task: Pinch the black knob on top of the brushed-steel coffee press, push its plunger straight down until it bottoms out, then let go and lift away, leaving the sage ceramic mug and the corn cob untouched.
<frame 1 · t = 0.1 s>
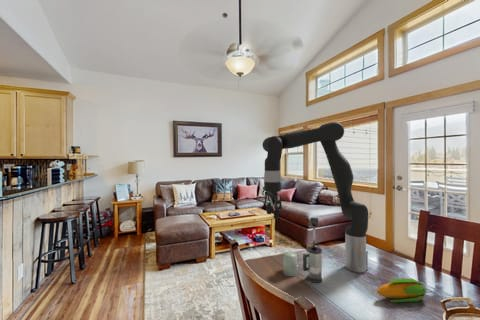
hand: (272, 216, 100), 29 cm above the table, fingers open, 8 cm apart
corn: (401, 299, 87), on the table
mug: (290, 273, 107), on the table
plunger: (314, 233, 101), point 21 cm above the table, slide at 0.0 cm
press: (314, 279, 101), on the table
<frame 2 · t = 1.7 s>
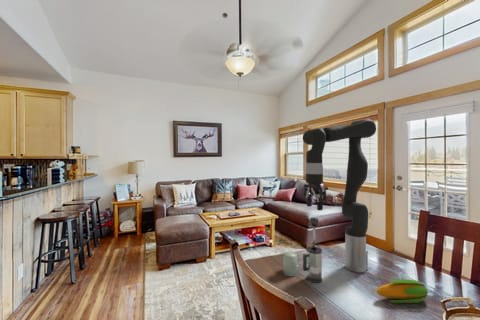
hand: (314, 208, 101), 33 cm above the table, fingers open, 8 cm apart
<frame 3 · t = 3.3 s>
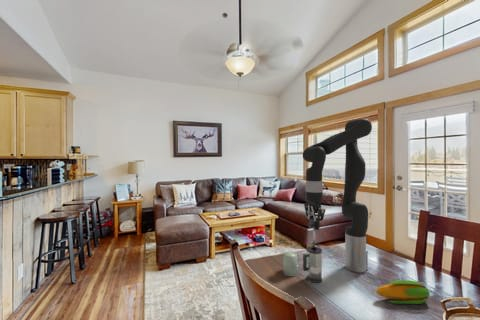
hand: (314, 227, 101), 24 cm above the table, fingers closed on plunger, 3 cm apart
plunger: (314, 233, 101), point 21 cm above the table, slide at 0.0 cm, touching gripper
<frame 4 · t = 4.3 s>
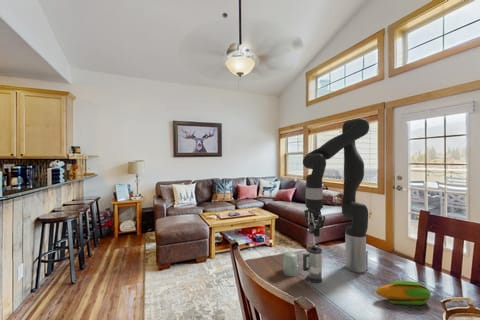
hand: (314, 234, 101), 21 cm above the table, fingers closed on plunger, 3 cm apart
plunger: (314, 240, 101), point 18 cm above the table, slide at 3.2 cm, touching gripper
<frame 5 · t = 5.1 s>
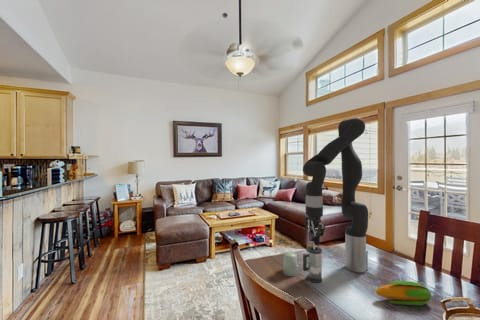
hand: (314, 242, 101), 17 cm above the table, fingers closed on plunger, 3 cm apart
plunger: (314, 247, 101), point 14 cm above the table, slide at 6.7 cm, touching gripper
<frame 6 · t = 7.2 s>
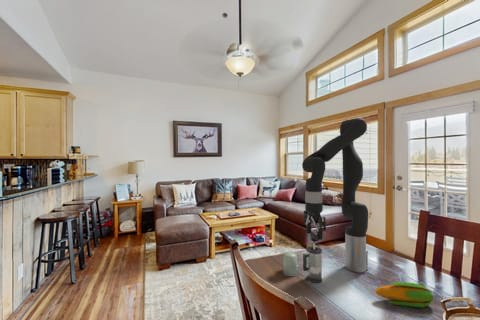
hand: (314, 236, 101), 20 cm above the table, fingers open, 8 cm apart
plunger: (314, 248, 101), point 14 cm above the table, slide at 6.8 cm
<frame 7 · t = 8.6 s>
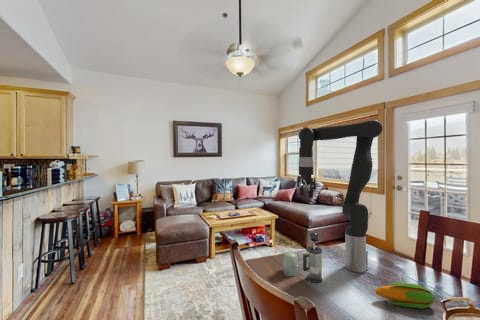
hand: (306, 196, 117), 35 cm above the table, fingers open, 8 cm apart
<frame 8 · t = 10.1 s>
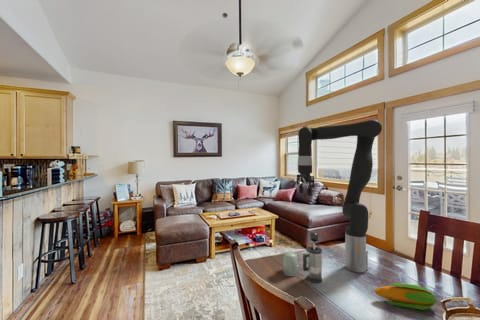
hand: (305, 194, 120), 36 cm above the table, fingers open, 8 cm apart
at the end: plunger slide at 6.8 cm; the gripper is holding nothing; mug moved 0.0 cm from its start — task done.
